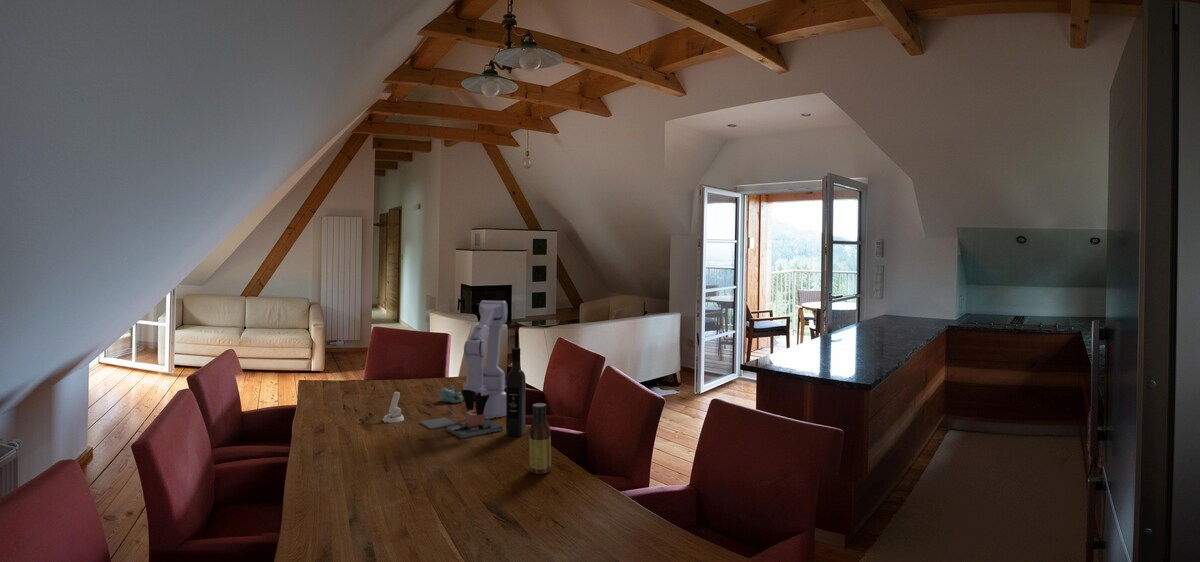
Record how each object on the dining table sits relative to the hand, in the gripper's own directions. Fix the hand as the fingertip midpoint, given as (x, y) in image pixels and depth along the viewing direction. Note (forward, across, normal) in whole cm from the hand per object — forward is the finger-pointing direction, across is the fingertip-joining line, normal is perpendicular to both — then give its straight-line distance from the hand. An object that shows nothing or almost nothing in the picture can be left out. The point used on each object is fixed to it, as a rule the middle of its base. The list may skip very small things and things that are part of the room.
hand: (474, 412), depth 226 cm
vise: (+7, 0, 0) cm, 7 cm away
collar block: (+4, 0, 0) cm, 4 cm away
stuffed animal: (+7, -43, +12) cm, 45 cm away
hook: (+7, -30, -18) cm, 36 cm away
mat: (+7, -15, -7) cm, 18 cm away
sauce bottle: (+7, +47, -3) cm, 48 cm away
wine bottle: (+7, +12, +10) cm, 17 cm away
